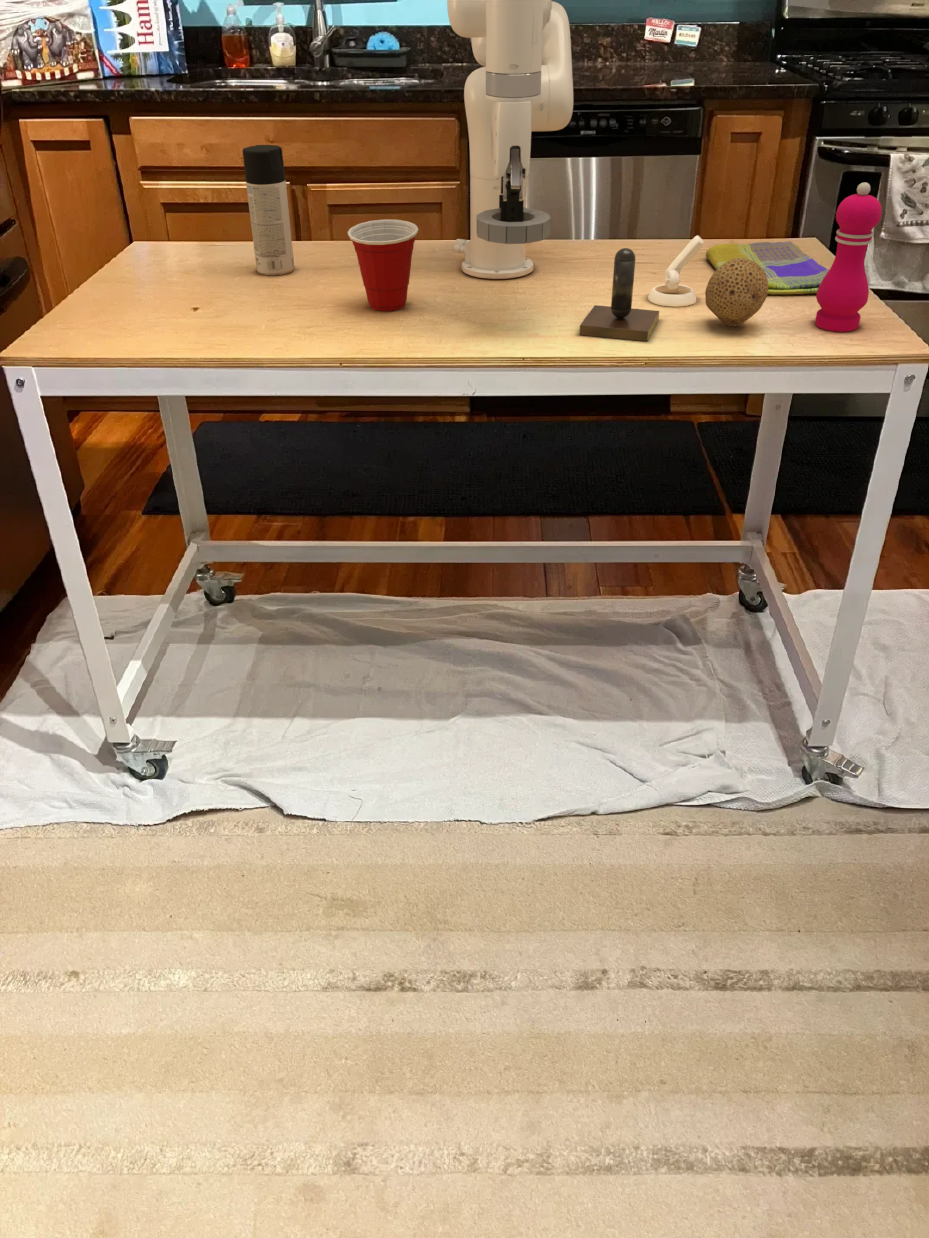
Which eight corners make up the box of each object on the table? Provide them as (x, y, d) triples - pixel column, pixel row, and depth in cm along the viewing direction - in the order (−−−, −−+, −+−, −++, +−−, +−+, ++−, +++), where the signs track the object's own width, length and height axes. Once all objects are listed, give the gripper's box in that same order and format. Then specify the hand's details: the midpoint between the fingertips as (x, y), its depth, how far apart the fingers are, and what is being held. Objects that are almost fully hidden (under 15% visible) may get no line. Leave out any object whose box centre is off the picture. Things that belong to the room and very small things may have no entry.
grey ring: (464, 238, 144) (464, 221, 142) (496, 221, 151) (496, 204, 150) (531, 247, 140) (531, 229, 138) (560, 229, 147) (561, 212, 146)
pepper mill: (854, 336, 147) (885, 190, 136) (805, 328, 150) (831, 184, 139) (867, 322, 152) (898, 180, 141) (819, 315, 155) (845, 175, 144)
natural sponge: (760, 339, 146) (771, 269, 141) (698, 334, 149) (706, 264, 143) (762, 320, 154) (773, 252, 148) (703, 315, 156) (711, 248, 150)
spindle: (579, 335, 149) (583, 254, 142) (593, 314, 157) (598, 237, 150) (647, 341, 146) (654, 260, 140) (658, 320, 154) (666, 242, 147)
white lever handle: (735, 273, 156) (704, 249, 153) (681, 332, 163) (650, 310, 159) (722, 250, 161) (692, 227, 158) (670, 308, 168) (640, 286, 165)
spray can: (302, 269, 179) (290, 146, 168) (277, 278, 175) (263, 152, 163) (274, 264, 182) (260, 143, 171) (248, 273, 178) (232, 149, 166)
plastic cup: (341, 313, 158) (334, 233, 152) (369, 293, 167) (365, 217, 160) (405, 320, 155) (401, 239, 148) (431, 300, 164) (428, 222, 157)
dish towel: (734, 297, 163) (737, 279, 162) (702, 257, 184) (704, 241, 182) (842, 295, 164) (845, 277, 162) (798, 255, 184) (801, 239, 182)
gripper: (482, 78, 144) (481, 213, 155) (489, 96, 131) (488, 242, 142) (534, 77, 145) (530, 212, 155) (547, 95, 131) (542, 241, 142)
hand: (510, 225), depth 148 cm, fingers closed on grey ring, 2 cm apart
